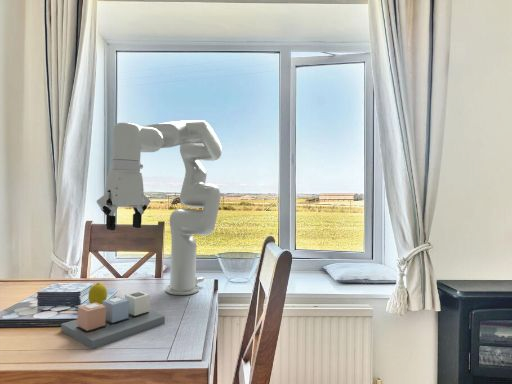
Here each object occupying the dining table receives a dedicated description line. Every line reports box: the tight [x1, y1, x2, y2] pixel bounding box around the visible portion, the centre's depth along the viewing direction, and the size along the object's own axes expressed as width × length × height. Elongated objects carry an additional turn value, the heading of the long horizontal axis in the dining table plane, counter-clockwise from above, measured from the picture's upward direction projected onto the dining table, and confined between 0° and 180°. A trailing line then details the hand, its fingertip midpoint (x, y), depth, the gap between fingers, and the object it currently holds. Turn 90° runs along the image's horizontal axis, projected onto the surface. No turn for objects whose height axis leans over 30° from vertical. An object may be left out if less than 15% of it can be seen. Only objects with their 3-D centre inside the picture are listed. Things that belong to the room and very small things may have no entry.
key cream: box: [124, 291, 150, 317], centre depth 105 cm, size 5×5×5 cm
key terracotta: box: [77, 302, 106, 332], centre depth 94 cm, size 5×5×5 cm
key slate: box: [102, 296, 129, 324], centre depth 99 cm, size 5×5×5 cm
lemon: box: [87, 282, 108, 305], centre depth 114 cm, size 6×6×8 cm
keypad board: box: [60, 309, 166, 350], centre depth 99 cm, size 22×16×2 cm
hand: (124, 228), depth 100 cm, fingers open, 7 cm apart
